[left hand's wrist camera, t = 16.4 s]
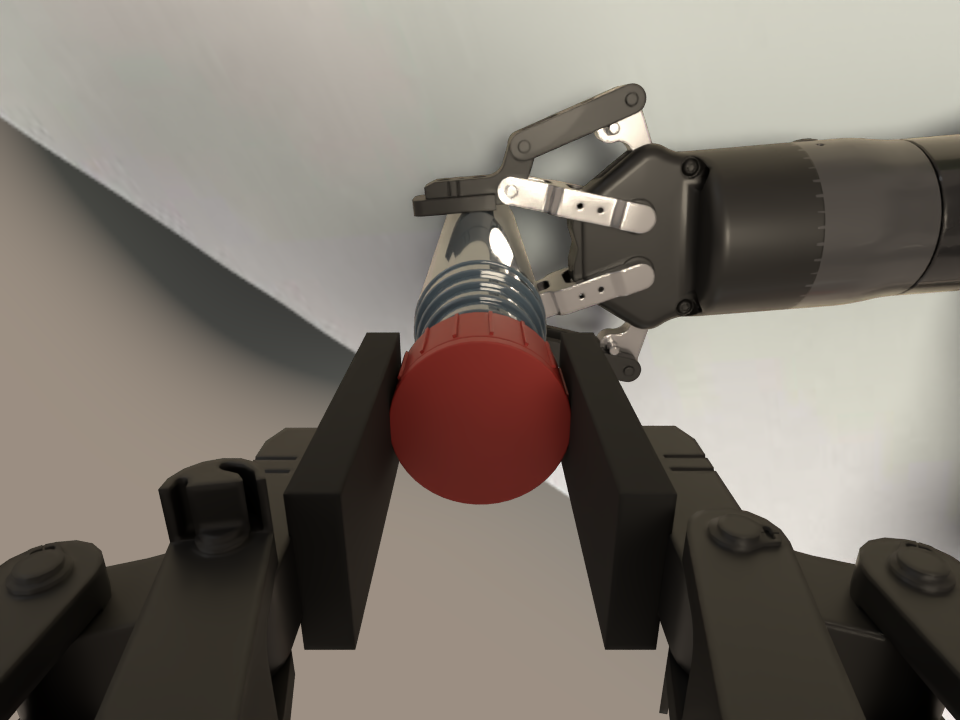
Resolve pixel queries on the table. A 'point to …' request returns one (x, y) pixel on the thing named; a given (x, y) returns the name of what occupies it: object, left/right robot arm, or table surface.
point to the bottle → (480, 272)
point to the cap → (480, 409)
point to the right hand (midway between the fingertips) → (422, 257)
